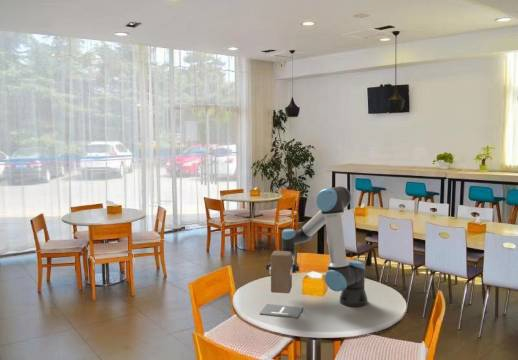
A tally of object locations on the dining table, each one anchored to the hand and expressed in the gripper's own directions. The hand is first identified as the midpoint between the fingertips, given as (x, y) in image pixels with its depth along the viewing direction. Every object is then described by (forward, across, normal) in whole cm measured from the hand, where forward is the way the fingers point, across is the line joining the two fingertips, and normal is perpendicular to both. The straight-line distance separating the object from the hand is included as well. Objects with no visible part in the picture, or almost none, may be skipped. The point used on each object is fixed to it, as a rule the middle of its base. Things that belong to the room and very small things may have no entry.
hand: (280, 272), depth 241 cm
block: (-4, 0, -11) cm, 12 cm away
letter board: (-4, 0, -22) cm, 23 cm away
